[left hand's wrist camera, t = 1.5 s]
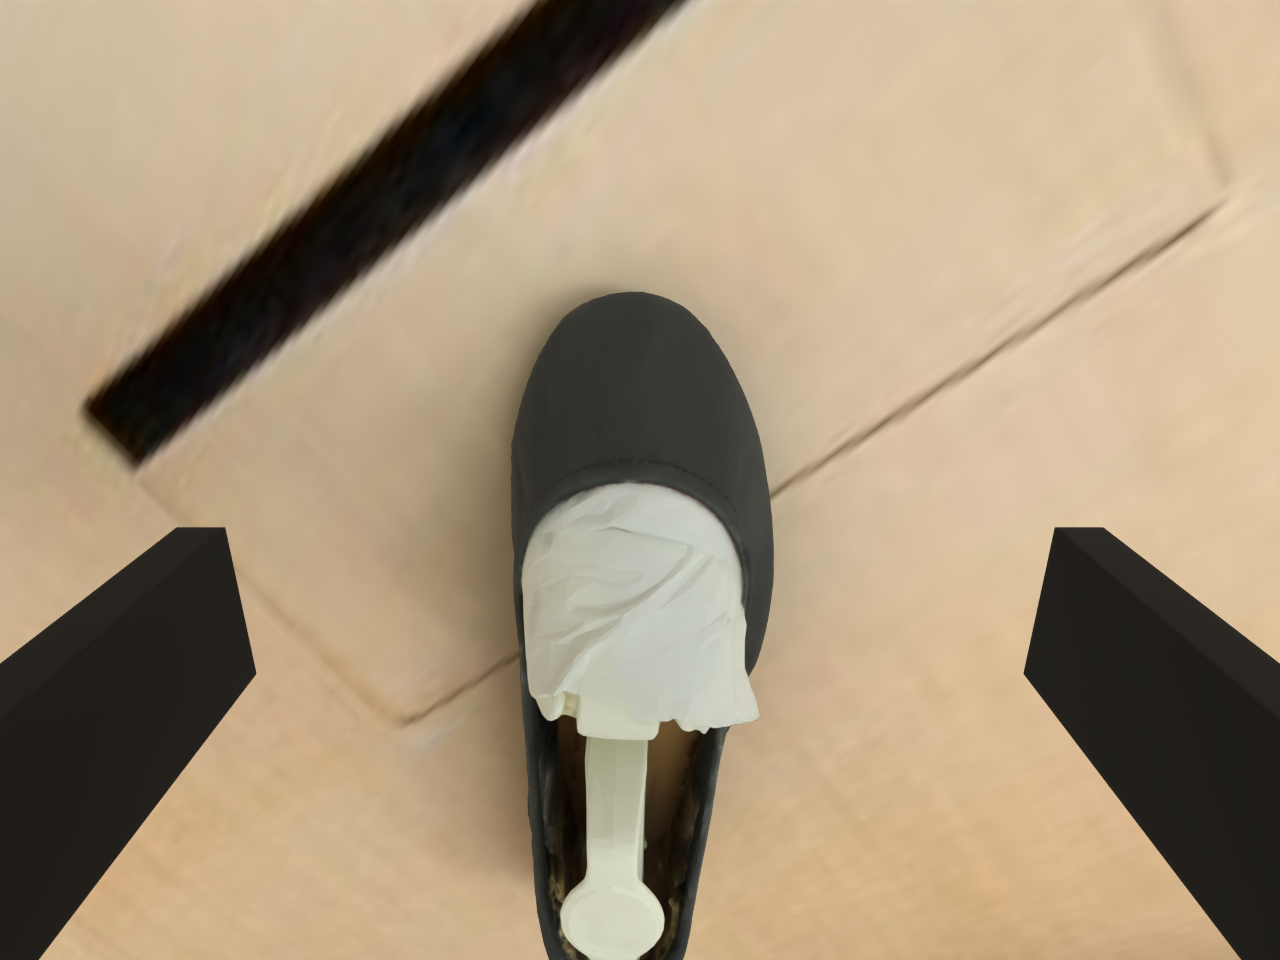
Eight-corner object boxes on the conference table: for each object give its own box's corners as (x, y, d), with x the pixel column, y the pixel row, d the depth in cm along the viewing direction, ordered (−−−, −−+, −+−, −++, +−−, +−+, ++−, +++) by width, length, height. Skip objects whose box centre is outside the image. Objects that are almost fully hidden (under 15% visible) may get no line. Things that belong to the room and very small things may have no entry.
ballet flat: (780, 284, 23) (846, 343, 16) (740, 879, 32) (771, 1100, 25) (505, 284, 23) (438, 342, 16) (542, 878, 32) (511, 1099, 25)
